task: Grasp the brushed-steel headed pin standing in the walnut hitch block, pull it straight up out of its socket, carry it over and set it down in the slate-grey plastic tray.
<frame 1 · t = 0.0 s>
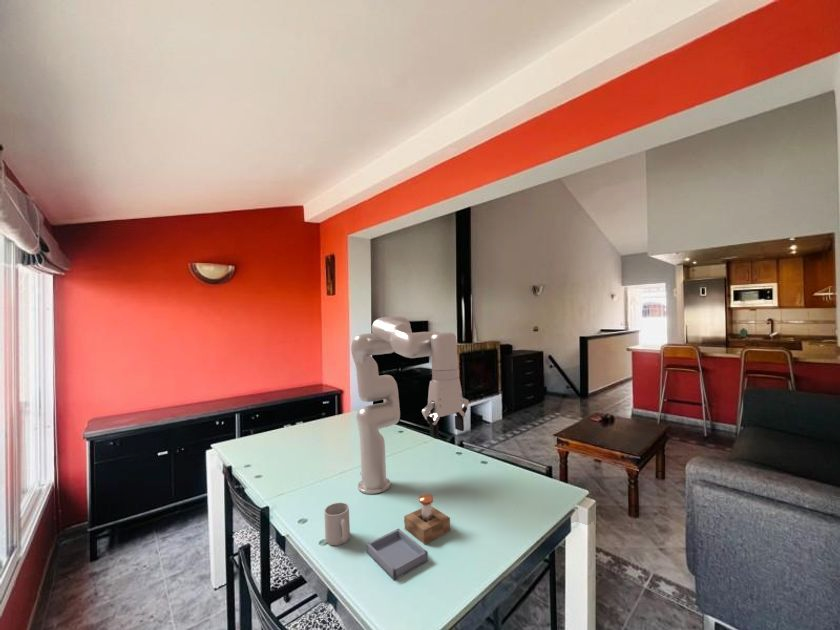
hand: (447, 433, 104), 31 cm above the table, tool pointing down, fingers open, 9 cm apart
pin: (426, 513, 110), in the hitch block
hitch block: (427, 529, 109), on the table
tray: (396, 556, 98), on the table
cup: (339, 541, 106), on the table
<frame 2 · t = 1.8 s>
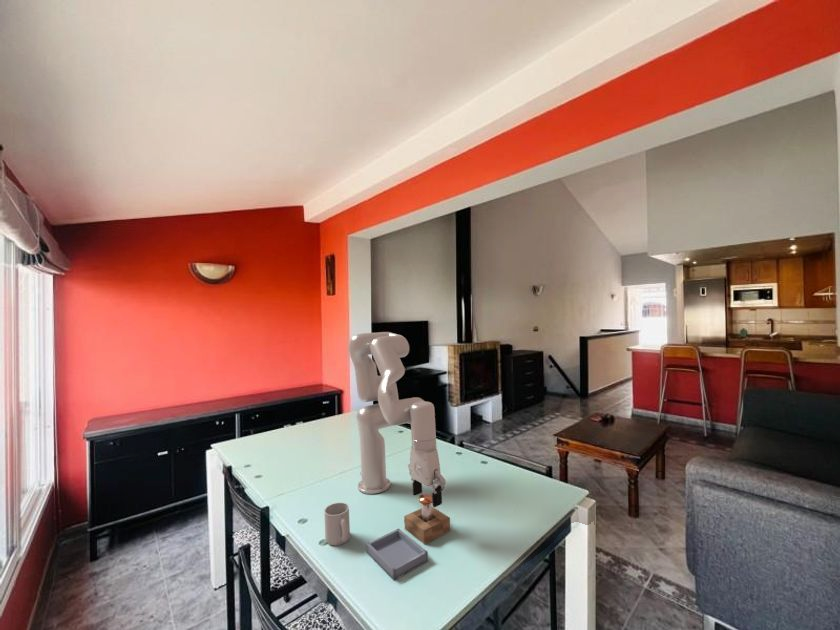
hand: (427, 499, 109), 10 cm above the table, tool pointing down, fingers open, 9 cm apart
nothing on the table moved.
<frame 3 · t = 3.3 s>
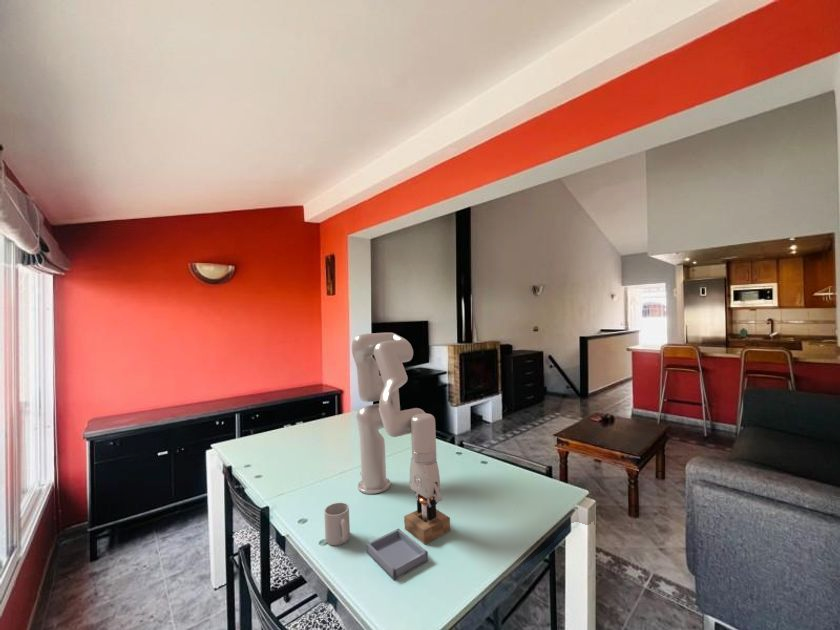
hand: (426, 514, 110), 5 cm above the table, tool pointing down, fingers closed on pin, 4 cm apart
pin: (426, 513, 110), in the hitch block, touching gripper
everything else where it was.
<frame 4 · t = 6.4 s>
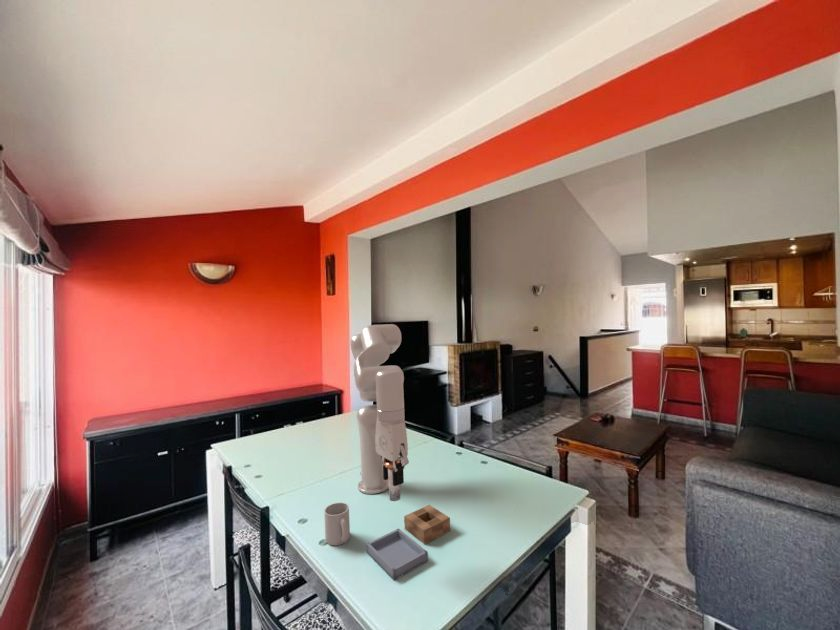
hand: (393, 480, 98), 21 cm above the table, tool pointing down, fingers closed on pin, 4 cm apart
pin: (393, 480, 98), point 21 cm above the table, touching gripper
everything else where it was.
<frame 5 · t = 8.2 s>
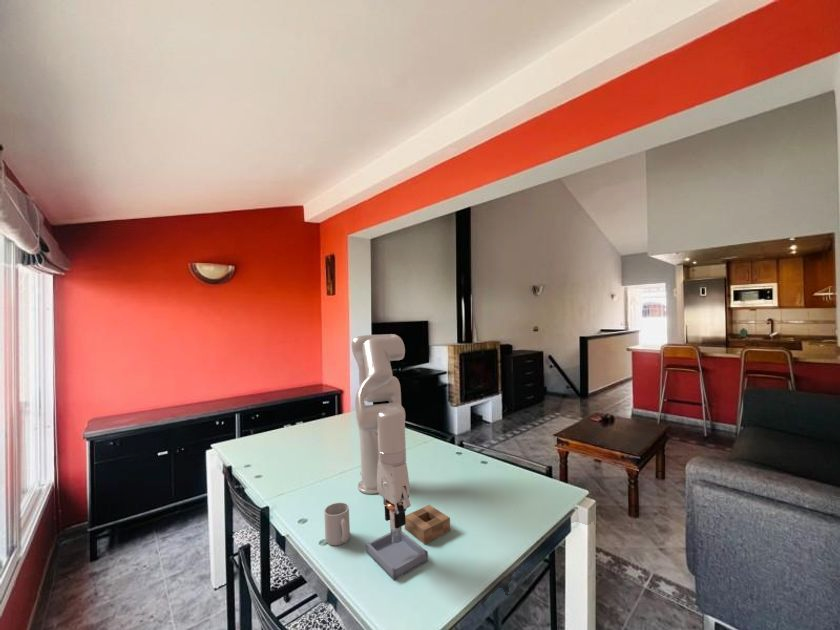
hand: (395, 521, 98), 10 cm above the table, tool pointing down, fingers closed on pin, 4 cm apart
pin: (395, 521, 98), point 10 cm above the table, touching gripper
everything else where it was.
when the fingers open (7 cm above the table, at t = 9.6 s): pin drops 1 cm, resting on tray.
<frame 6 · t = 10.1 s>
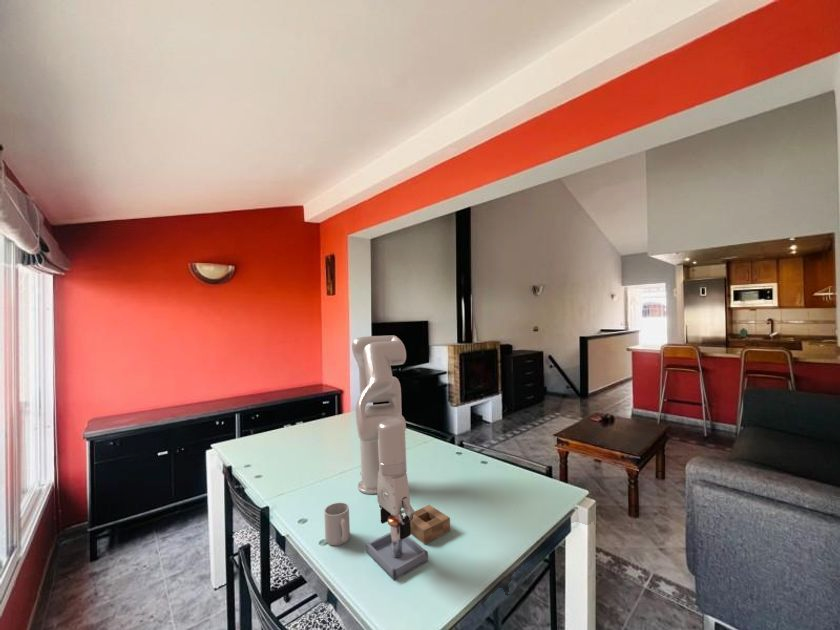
hand: (395, 528, 98), 8 cm above the table, tool pointing down, fingers open, 9 cm apart
pin: (396, 536, 98), in the tray, point 6 cm above the table
everything else where it was.
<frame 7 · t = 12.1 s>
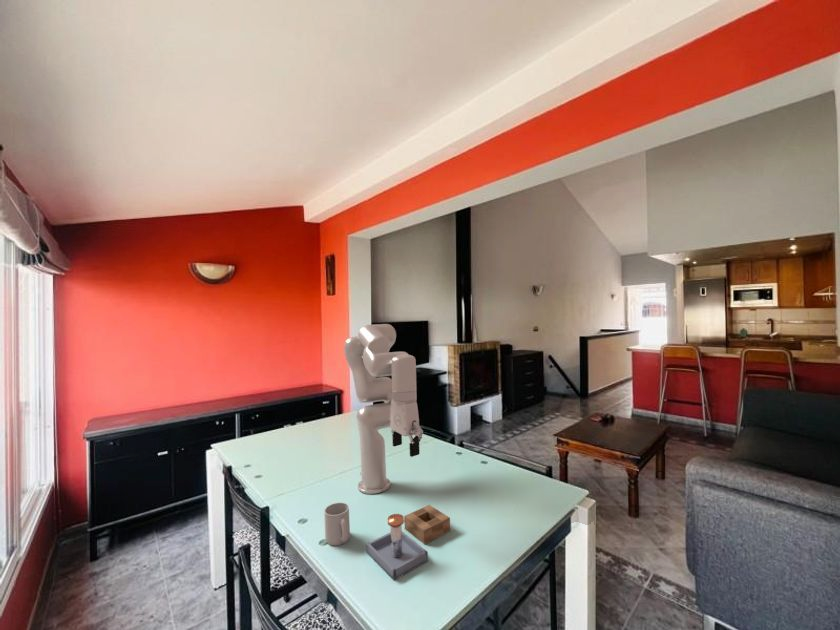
hand: (405, 450, 110), 24 cm above the table, tool pointing down, fingers open, 9 cm apart
nothing on the table moved.
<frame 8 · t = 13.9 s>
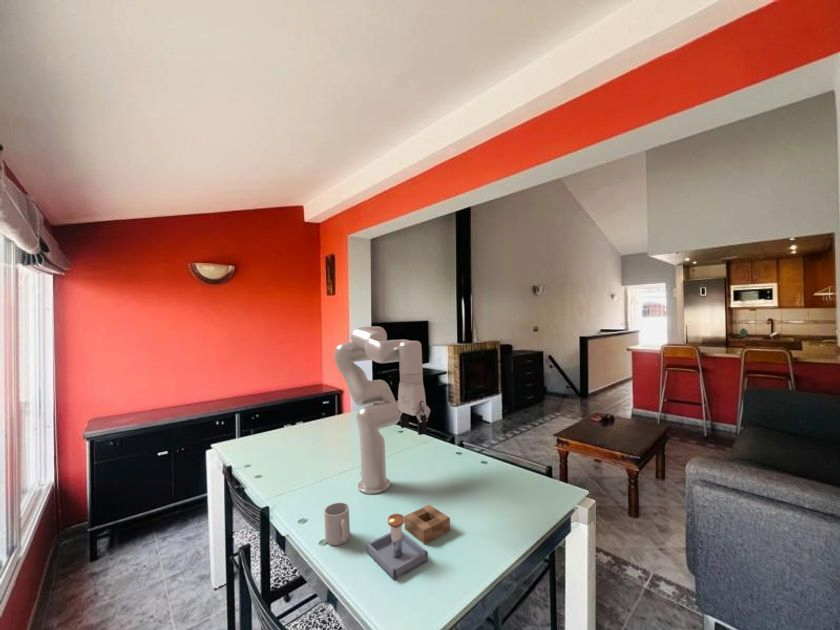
hand: (413, 430, 117), 28 cm above the table, tool pointing down, fingers open, 9 cm apart
nothing on the table moved.
at the end: pin inside the target area on the tray (0.3 cm from its centre), point 5.6 cm above the tray's base; the gripper is holding nothing; pin touching tray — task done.
